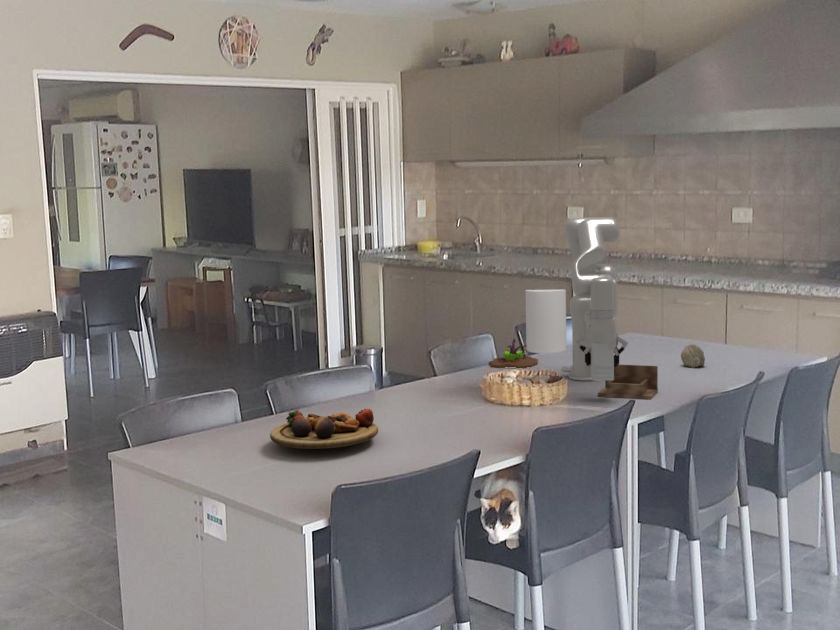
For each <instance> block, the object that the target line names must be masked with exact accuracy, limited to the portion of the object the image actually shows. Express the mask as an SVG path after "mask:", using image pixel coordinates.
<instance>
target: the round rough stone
mask: <svg viewBox="0 0 840 630" xmlns="http://www.w3.org/2000/svg"><path fill="white" fill-rule="evenodd" d="M680 358H681V362H682V364H683V365H685V367H687V366H688V368H692V367H693V369H694V368H700V367H704V365H705V361H706V358H705V355H704V351H703V349H702V348H701V347H700V346H699V345H697V344H695V343H689V344H686V345H684V349H682V350H681V353H680ZM699 366H700V367H699Z"/></svg>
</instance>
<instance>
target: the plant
mask: <svg viewBox="0 0 840 630" xmlns="http://www.w3.org/2000/svg"><path fill="white" fill-rule="evenodd" d="M511 343H512V345H510V344H509V345H508V346H507V347H505V350H504V353H501V354H502V355H503V356H500V357H495V358H494V359H493V360H490V361H488V366H489V367H490V368H493V369H506V368H505V367H516V368H522V369H528V368H527V367H532V366H533V367H535V365H537V364H538V363H539V359H538V358H536V357H532V356H531V355H526V353H527V352H523V351H527V350H526V346H525V345H518V346H517V347H515V343H517V339H516V338H513V339H512V342H511ZM520 348H522V349H523V350H519V349H520ZM537 366H538V365H537ZM533 367H532V368H533Z"/></svg>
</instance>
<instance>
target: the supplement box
mask: <svg viewBox="0 0 840 630" xmlns="http://www.w3.org/2000/svg"><path fill="white" fill-rule="evenodd" d="M590 353H591V364H590V365H591V366H590V374H591V378H592V382H594V381H598V382H599V381H600V382H601V381H602V382H603V381H605V380H614V355H615V353H614V349H608V344H603V343H591V350H590Z"/></svg>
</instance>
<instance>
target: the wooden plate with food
mask: <svg viewBox="0 0 840 630" xmlns="http://www.w3.org/2000/svg"><path fill="white" fill-rule="evenodd" d="M285 419H286V423H283V424H280V425H278V426H276V427H274V428H273V429H272V430H271V431H270V433H269V437H270V439H271V442H273V443H275V444H277V445H278V446H283V447H285V448H293V449H306V450H307V449H309V450H311V449H313V450H314V449H334V448H343V447H349V446H353V445H358V444H361V443H365V442H368V441H369V440H372V439H374V438H375V437H376V436H377V434H379V427H378V426H377V424H375V423H374V412H373V411H372V409H370V408H364V409H361V410H359V411H358V413H356V414H355V415H354V417H353V416H352V415H351V414H350V413H347V412H343V411H342V412H338V413H332V414H331V415H319V414H314V413H308V414H307V416H306V417H305V416H304V415H303V413H302V411H300V410H299V409H295V410H294V411H289V412H288V416H286V418H285Z"/></svg>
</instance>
